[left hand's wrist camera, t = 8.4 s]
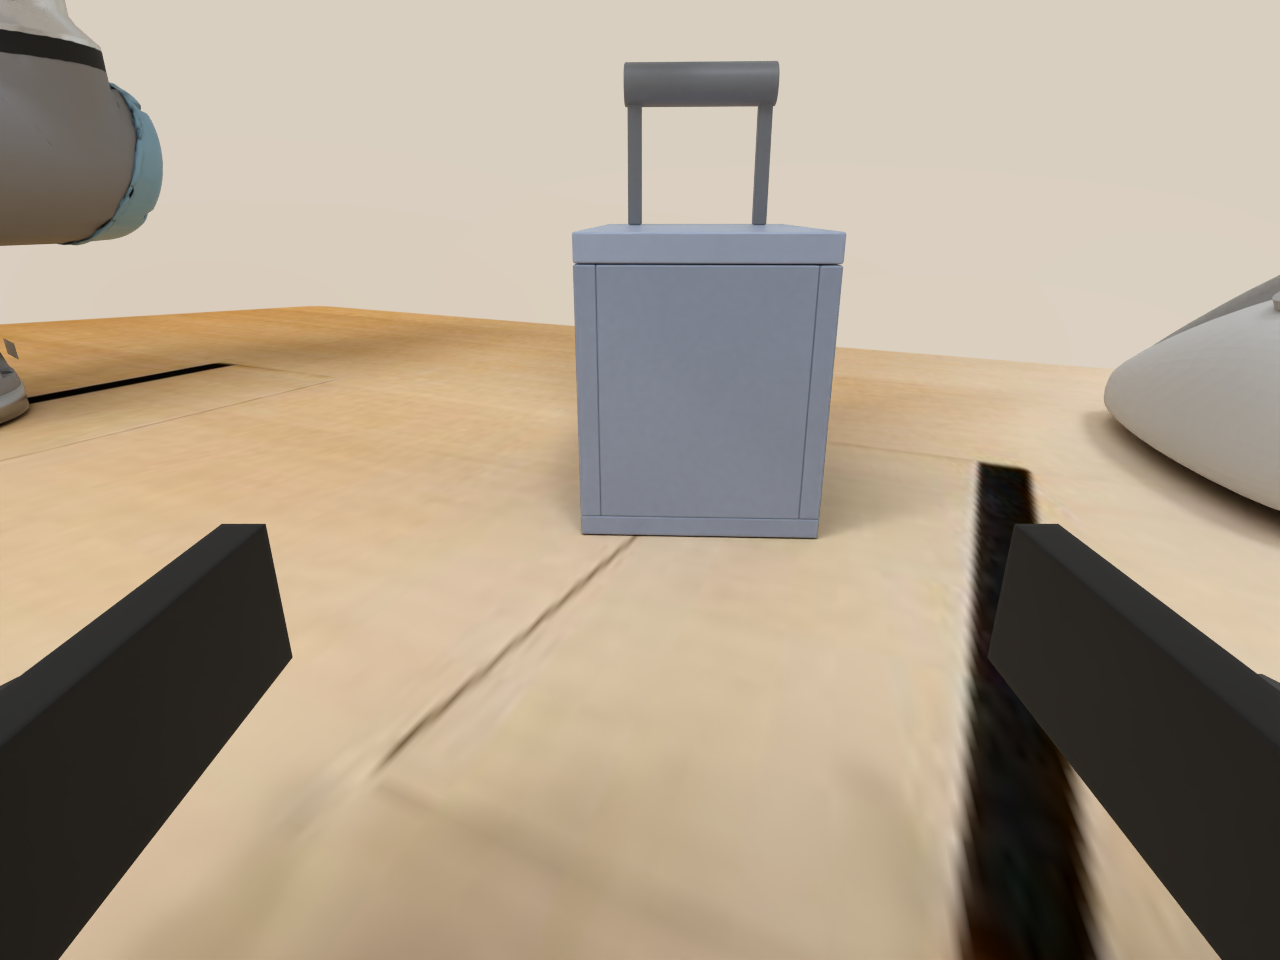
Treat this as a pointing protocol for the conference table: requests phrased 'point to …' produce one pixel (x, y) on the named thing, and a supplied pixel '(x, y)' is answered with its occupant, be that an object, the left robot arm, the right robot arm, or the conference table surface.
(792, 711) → the conference table surface
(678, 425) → the chest
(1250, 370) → the projector
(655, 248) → the lid
